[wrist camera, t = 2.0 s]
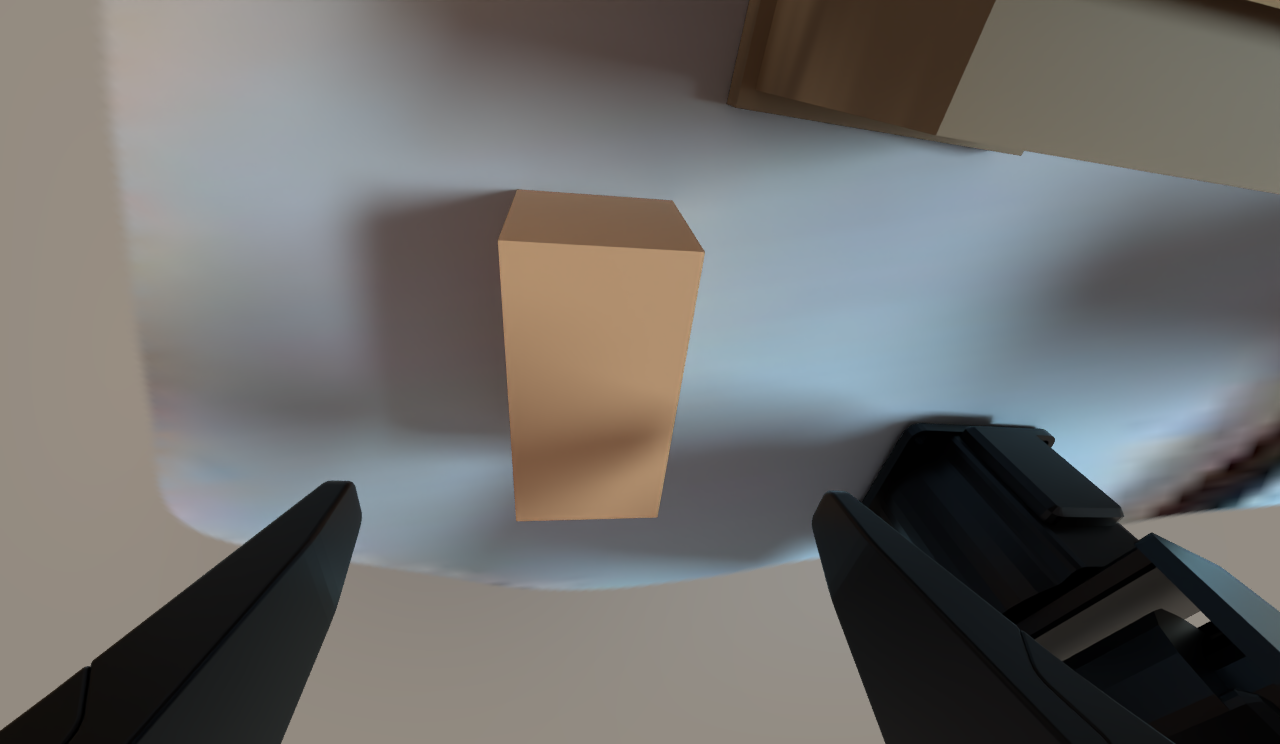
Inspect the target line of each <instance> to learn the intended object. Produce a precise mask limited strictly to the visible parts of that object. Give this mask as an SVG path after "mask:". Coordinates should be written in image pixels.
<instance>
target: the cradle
mask: <svg viewBox="0 0 1280 744" xmlns="http://www.w3.org/2000/svg"><path fill="white" fill-rule="evenodd" d="M727 104H728V105H731V106H733V107H736V108H741V109H747V110H753V111H759V112H765V113H771V114H777V115H783V116H789V117H794V118H800V119H806V120H812V121H818V122H824V123H830V124H836V125H842V126H848V127H854V128H860V129H866V130H871V131H877V132H883V133H889V134H895V135H901V136H907V137H913V138H919V139H925V140H931V141H937V142H942V143H948V144H954V145H960V146H966V147H972V148H978V149H984V150H990V151H996V152H1002V153H1008V154H1013V155H1019V156H1021V155H1022V153H1023V151H1029V152H1035V153H1041V154H1047V155H1053V156H1059V157H1064V158H1070V159H1076V160H1082V161H1088V162H1093V163H1099V164H1105V165H1111V166H1117V167H1123V168H1128V169H1134V170H1140V171H1146V172H1152V173H1158V174H1163V175H1169V176H1175V177H1181V178H1187V179H1193V180H1198V181H1204V182H1210V183H1216V184H1222V185H1228V186H1233V187H1239V188H1245V189H1251V190H1257V191H1263V192H1268V193H1274V194H1280V0H749V4H748V9H747V14H746V18H745V23H744V27H743V32H742V36H741V41H740V45H739V50H738V54H737V59H736V64H735V68H734V73H733V77H732V82H731V86H730V91H729V95H728V100H727Z"/></svg>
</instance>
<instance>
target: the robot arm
mask: <svg viewBox="0 0 1280 744" xmlns="http://www.w3.org/2000/svg"><path fill="white" fill-rule="evenodd" d="M1054 442H1055V438H1054V437H1053V436H1052V435H1051V434H1049V433H1048V432H1047V431H1046V430H1043V429H1031V428H1011V427H990V426H967V425H946V424H925V423H919V424H914V425H912V426H910V427H909V428H907V429H906V430H905V431H904V432H903V434H902V436H901V437H900V439H899V441H898V443H897V444H896V446H895V448H894V449H893V451H892V453H891V454H890V456H889V458H888V460H887V461H886V463H885V465H884V466H883V468H882V470H881V471H880V473H879V475H878V477H877V478H876V480H875V482H874V483H873V485H872V487H871V488H870V490H869V492H868V494H867V495H866V497H865V499H864V500H863V502H862V503H861V502H860V501H858V500H857V499H856V498H855V497H853V496H852V495H851V494H849V493H848V492H845V491H828V492H826V493H825V494H824V496H823V497H822V499H821V501H820V503H819V505H818V507H817V509H816V511H815V513H814V515H813V518H812V529H813V533H814V537H815V540H816V544H817V548H818V552H819V555H820V559H821V563H822V567H823V570H824V574H825V578H826V582H827V585H828V589H829V592H830V595H831V599H832V602H833V605H834V608H835V610H836V613H837V616H838V619H839V621H840V624H841V626H842V629H843V632H844V634H845V637H846V640H847V643H848V645H849V648H850V650H851V653H852V656H853V659H854V661H855V664H856V667H857V669H858V672H859V675H860V677H861V679H862V683H863V685H864V687H865V690H866V693H867V696H868V698H869V701H870V704H871V706H872V709H873V712H874V714H875V717H876V720H877V722H878V725H879V727H880V730H881V733H882V736H883V738H884V741H885V744H1280V612H1279V611H1278V610H1277V609H1275V608H1274V607H1273V606H1271V605H1270V604H1269V603H1267V602H1266V601H1265V600H1264V599H1262V598H1261V597H1260V596H1258V595H1257V594H1256V593H1254V592H1253V591H1252V590H1251V589H1249V588H1248V587H1247V586H1245V585H1244V584H1243V583H1241V582H1240V581H1239V580H1238V579H1236V578H1235V577H1234V576H1232V575H1231V574H1230V573H1228V572H1227V571H1226V570H1224V569H1223V568H1222V567H1220V566H1218V565H1216V564H1215V563H1212V562H1210V561H1208V560H1206V559H1204V558H1202V557H1200V556H1198V555H1196V554H1194V553H1192V552H1190V551H1188V550H1186V549H1184V548H1182V547H1180V546H1178V545H1176V544H1174V543H1172V542H1170V541H1168V540H1166V539H1164V538H1162V537H1160V536H1158V535H1156V534H1154V533H1150V534H1148V535H1146V536H1145V537H1143V538H1142V539H1140V540H1138V539H1137V538H1135V537H1134V536H1133V535H1132V534H1131V533H1130V532H1129V531H1127V530H1126V529H1125V528H1124V527H1123V526H1122V525H1121V524H1119V523H1118V522H1119V521H1120V520H1121V519H1122V518H1123V517H1124V514H1123V511H1122V509H1121V507H1120V506H1119V505H1118V504H1117V503H1116V502H1115V501H1113V500H1112V499H1111V498H1110V497H1109V496H1107V495H1106V494H1105V493H1104V492H1103V491H1102V490H1100V489H1099V488H1098V487H1097V486H1096V485H1094V484H1093V483H1092V482H1091V481H1090V480H1088V479H1087V478H1086V477H1085V476H1084V475H1083V474H1081V473H1080V472H1079V471H1078V470H1077V469H1075V468H1074V467H1073V466H1072V465H1071V464H1069V463H1068V462H1067V461H1066V460H1065V459H1064V458H1062V457H1061V456H1060V455H1059V454H1058V453H1056V452H1055V451H1054V450H1053V449H1052V448H1051V447H1052V446H1053V444H1054ZM361 521H362V512H361V507H360V503H359V499H358V495H357V491H356V487H355V485H354V483H353V482H351V481H327V482H325V483H323V484H321V485H320V486H319V487H317V488H316V489H315V490H314V491H312V492H311V493H310V494H308V495H307V496H306V497H304V498H303V499H302V500H301V501H299V502H298V503H297V504H295V505H294V506H293V507H291V508H290V509H289V510H288V511H286V512H285V513H284V514H282V515H281V516H280V517H278V518H277V519H276V520H275V521H273V522H272V523H271V524H269V525H268V526H267V527H266V528H264V529H263V530H262V531H260V532H259V533H258V534H256V535H255V536H254V537H253V538H251V539H250V540H249V541H247V542H246V543H245V544H243V545H242V546H241V547H240V548H238V549H237V550H236V551H235V552H233V553H232V554H231V555H229V556H228V557H227V558H225V559H224V560H223V561H221V562H220V563H219V564H218V565H216V566H215V567H214V568H212V569H211V570H210V571H208V572H207V573H206V574H205V575H203V576H202V577H201V578H199V579H198V580H197V581H196V582H194V583H193V584H192V585H190V586H189V587H188V588H186V589H185V590H184V591H183V592H181V593H180V594H179V595H177V596H176V597H175V598H173V599H172V600H171V601H170V602H168V603H167V604H166V605H164V606H163V607H162V608H161V609H159V610H158V611H157V612H155V613H154V614H153V615H151V616H150V617H149V618H147V619H146V620H145V621H144V622H142V623H141V624H140V625H139V626H137V627H136V628H135V629H133V630H132V631H131V632H129V633H128V634H127V635H125V636H124V637H123V638H122V639H120V640H119V641H118V642H116V643H115V644H114V645H112V646H111V647H110V648H109V649H107V650H106V651H105V652H103V653H102V654H101V655H100V656H98V657H97V658H96V659H94V660H93V661H92V663H91V667H90V666H87V667H84V668H82V669H81V670H80V671H78V672H77V673H76V674H75V675H73V676H72V677H71V678H69V679H68V680H67V681H66V682H64V683H63V684H62V685H60V686H59V687H58V688H57V689H55V690H54V691H52V692H51V693H50V694H49V695H47V696H46V697H45V698H43V699H42V700H41V701H39V702H38V703H37V704H35V705H34V706H33V707H31V708H30V709H29V710H27V711H26V712H24V713H23V714H22V715H21V716H19V717H18V718H16V719H15V720H14V721H12V722H11V723H10V724H9V725H7V726H6V727H4V728H3V729H2V730H0V744H281V742H282V740H283V737H284V735H285V732H286V730H287V728H288V725H289V723H290V720H291V718H292V715H293V713H294V711H295V708H296V706H297V704H298V701H299V699H300V696H301V694H302V692H303V689H304V687H305V684H306V682H307V679H308V677H309V675H310V672H311V670H312V667H313V665H314V662H315V660H316V658H317V655H318V653H319V651H320V648H321V646H322V643H323V641H324V639H325V636H326V633H327V631H328V629H329V626H330V624H331V621H332V619H333V616H334V614H335V611H336V608H337V605H338V602H339V598H340V595H341V592H342V588H343V585H344V581H345V578H346V574H347V571H348V567H349V564H350V560H351V557H352V554H353V550H354V547H355V543H356V540H357V536H358V533H359V529H360V526H361ZM1199 611H1201V612H1202V613H1203V614H1204V615H1205V616H1206V617H1207V618H1208V619H1209V620H1210V622H1208V623H1206V624H1204V625H1202V626H1201V627H1198V628H1196V627H1195V626H1193V625H1192V624H1190V623H1189V622H1187V621H1186V620H1184V619H1186V618H1188V617H1190V616H1192V615H1194V614H1195V613H1197V612H1199Z"/></svg>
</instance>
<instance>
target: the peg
mask: <svg viewBox="0 0 1280 744" xmlns="http://www.w3.org/2000/svg"><path fill="white" fill-rule="evenodd" d="M498 250H499V265H500V281H501V296H502V311H503V326H504V342H505V357H506V372H507V388H508V403H509V418H510V434H511V449H512V464H513V479H514V495H515V510H516V521H548V520H584V519H620V518H656V517H658V511H659V506H660V500H661V495H662V489H663V483H664V478H665V472H666V467H667V461H668V456H669V450H670V444H671V439H672V433H673V428H674V422H675V416H676V411H677V405H678V400H679V394H680V389H681V383H682V377H683V372H684V366H685V361H686V355H687V349H688V344H689V338H690V333H691V327H692V322H693V316H694V310H695V305H696V299H697V294H698V288H699V282H700V277H701V271H702V266H703V260H704V254H705V251H704V250H703V248H702V247H701V245H700V244H699V242H698V240H697V239H696V237H695V236H694V234H693V232H692V231H691V229H690V228H689V226H688V224H687V223H686V221H685V220H684V218H683V216H682V215H681V213H680V212H679V210H678V209H677V207H676V205H675V204H674V202H673V201H672V200H658V199H644V198H630V197H616V196H602V195H588V194H574V193H560V192H546V191H533V190H519V189H517V191H516V194H515V196H514V199H513V202H512V204H511V207H510V210H509V212H508V215H507V218H506V220H505V223H504V225H503V228H502V231H501V233H500V236H499V239H498Z"/></svg>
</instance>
